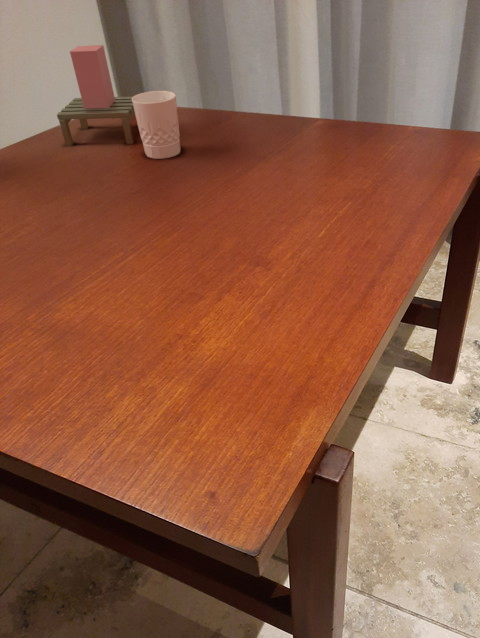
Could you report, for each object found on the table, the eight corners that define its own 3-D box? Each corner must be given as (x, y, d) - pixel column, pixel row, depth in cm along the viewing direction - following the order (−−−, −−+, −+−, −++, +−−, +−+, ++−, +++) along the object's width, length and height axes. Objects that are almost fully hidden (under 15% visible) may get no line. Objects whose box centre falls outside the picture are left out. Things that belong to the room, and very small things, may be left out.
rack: (65, 146, 111) (56, 114, 107) (82, 127, 120) (74, 97, 116) (133, 144, 110) (127, 112, 107) (146, 125, 119) (140, 95, 115)
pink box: (84, 108, 110) (69, 51, 103) (91, 101, 113) (77, 45, 107) (108, 108, 109) (96, 50, 103) (115, 100, 113) (103, 45, 106)
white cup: (170, 143, 110) (161, 88, 104) (191, 152, 106) (183, 96, 99) (135, 153, 107) (123, 97, 100) (155, 163, 102) (145, 105, 95)
